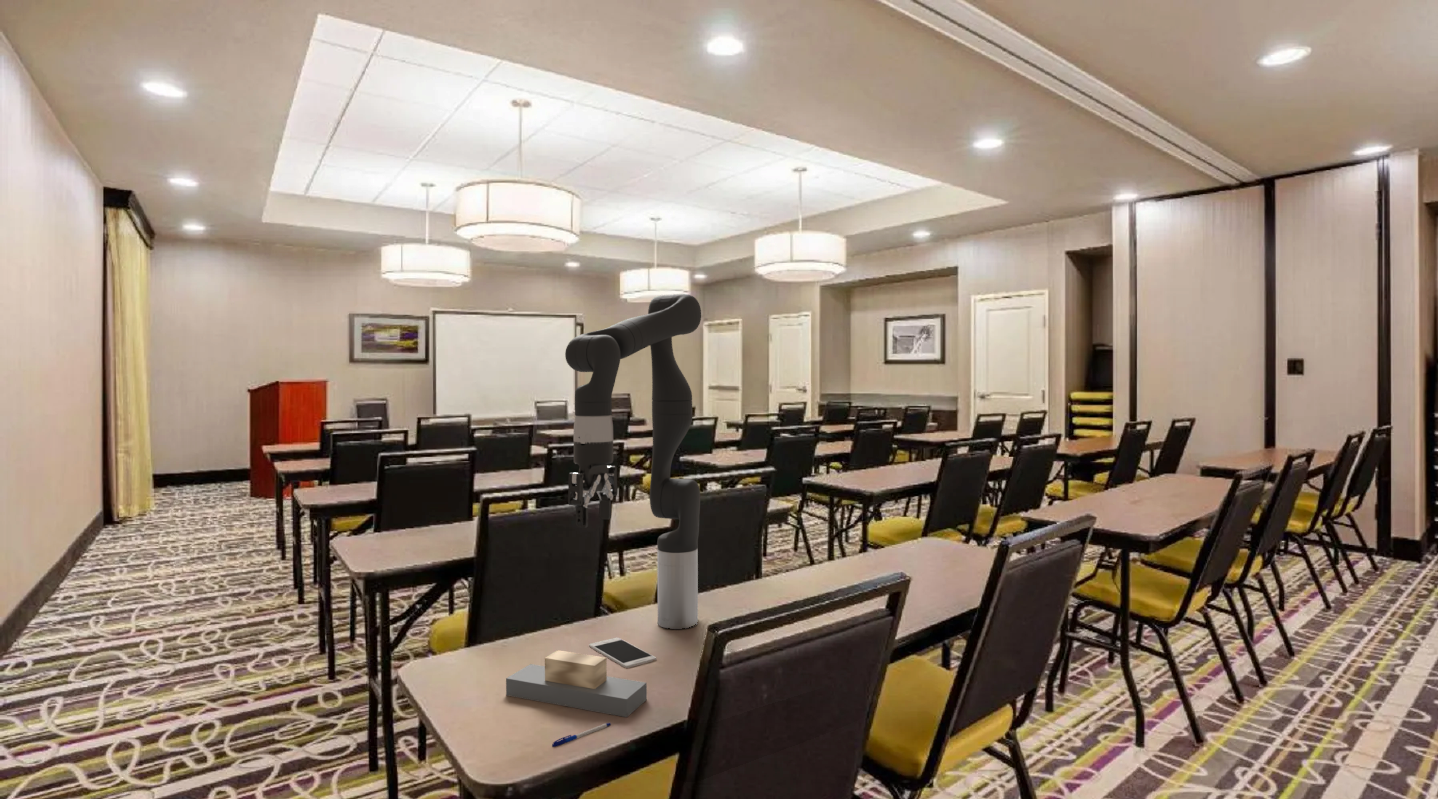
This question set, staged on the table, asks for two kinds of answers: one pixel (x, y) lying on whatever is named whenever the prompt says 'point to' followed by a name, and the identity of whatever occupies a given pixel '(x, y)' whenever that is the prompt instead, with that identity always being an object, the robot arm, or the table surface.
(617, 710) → the slotted rail
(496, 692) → the table surface
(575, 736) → the ballpoint pen
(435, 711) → the table surface
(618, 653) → the smartphone
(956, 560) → the table surface
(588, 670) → the tan rectangular block
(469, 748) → the table surface
